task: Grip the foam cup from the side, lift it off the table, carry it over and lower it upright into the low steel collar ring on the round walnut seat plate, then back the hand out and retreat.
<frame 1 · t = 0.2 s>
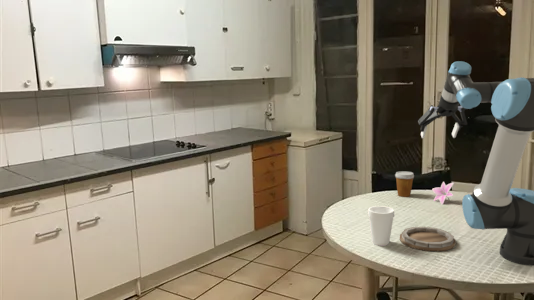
hand: (437, 136, 190), 36 cm above the table, tool tilted 35°, fingers open, 13 cm apart
seat plate: (427, 241, 165), on the table
disposable coffee cup: (404, 195, 227), on the table
stacking toy: (500, 212, 197), on the table
lily: (442, 201, 215), on the table
foam cup: (380, 243, 165), on the table
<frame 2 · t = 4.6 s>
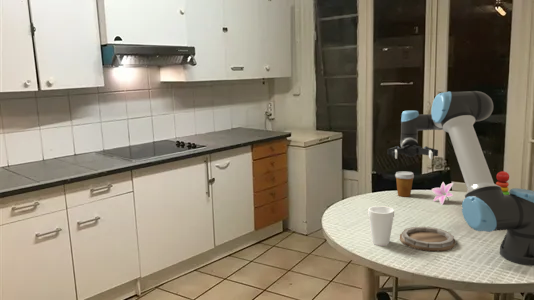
hand: (413, 155, 176), 30 cm above the table, tool horizontal, fingers open, 13 cm apart
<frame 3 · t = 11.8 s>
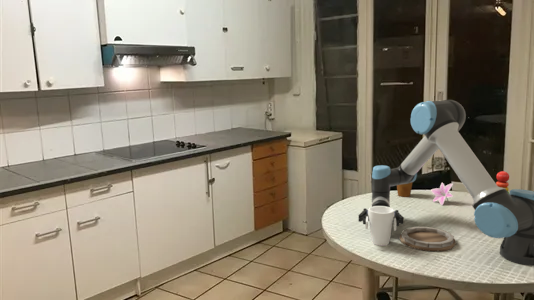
hand: (380, 226, 159), 8 cm above the table, tool horizontal, fingers closed on foam cup, 9 cm apart
lily: (441, 202, 214), on the table
foam cup: (380, 243, 165), on the table, touching gripper
everything else where it was.
when the fingers open (10 cm above the table, at t = 18.3 s): foam cup drops 1 cm, resting on seat plate.
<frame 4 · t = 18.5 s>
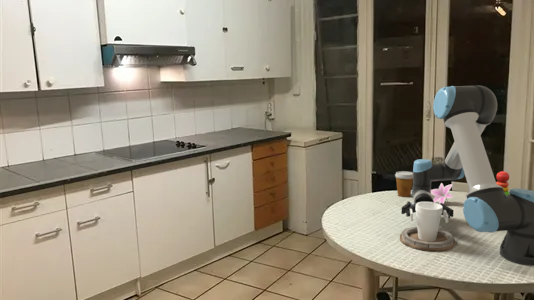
hand: (429, 218, 160), 10 cm above the table, tool horizontal, fingers open, 11 cm apart
lily: (441, 203, 213), on the table
foam cup: (427, 238, 165), point 1 cm above the table, touching seat plate
everything else where it was.
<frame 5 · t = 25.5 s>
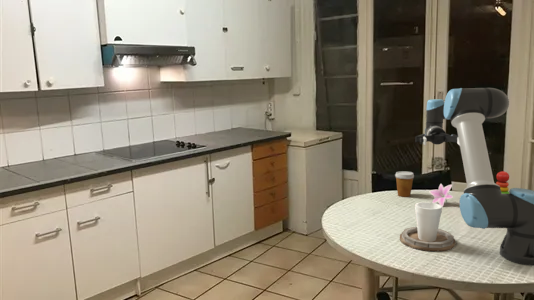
hand: (443, 142, 177), 35 cm above the table, tool horizontal, fingers open, 13 cm apart
lily: (441, 204, 211), on the table
everything else where it was.
at the end: foam cup inside the target area on the seat plate (0.1 cm from its centre), point 0.8 cm above the seat plate's base; foam cup tilted 0°; the gripper is holding nothing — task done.
